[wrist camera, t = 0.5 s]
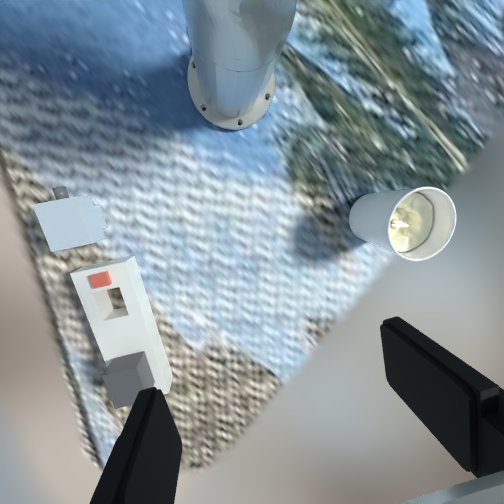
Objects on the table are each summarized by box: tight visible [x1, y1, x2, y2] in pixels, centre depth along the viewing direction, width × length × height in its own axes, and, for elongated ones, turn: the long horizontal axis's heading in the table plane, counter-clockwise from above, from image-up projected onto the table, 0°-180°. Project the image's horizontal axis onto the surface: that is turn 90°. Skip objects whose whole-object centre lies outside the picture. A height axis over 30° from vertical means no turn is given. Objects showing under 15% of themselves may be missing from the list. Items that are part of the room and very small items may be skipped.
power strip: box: [70, 255, 173, 394], centre depth 42 cm, size 24×8×5 cm, turn 11°
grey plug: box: [33, 187, 108, 252], centre depth 35 cm, size 8×5×8 cm, turn 11°
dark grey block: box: [102, 351, 155, 409], centre depth 42 cm, size 8×5×8 cm, turn 11°
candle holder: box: [349, 187, 456, 261], centre depth 39 cm, size 10×10×12 cm
